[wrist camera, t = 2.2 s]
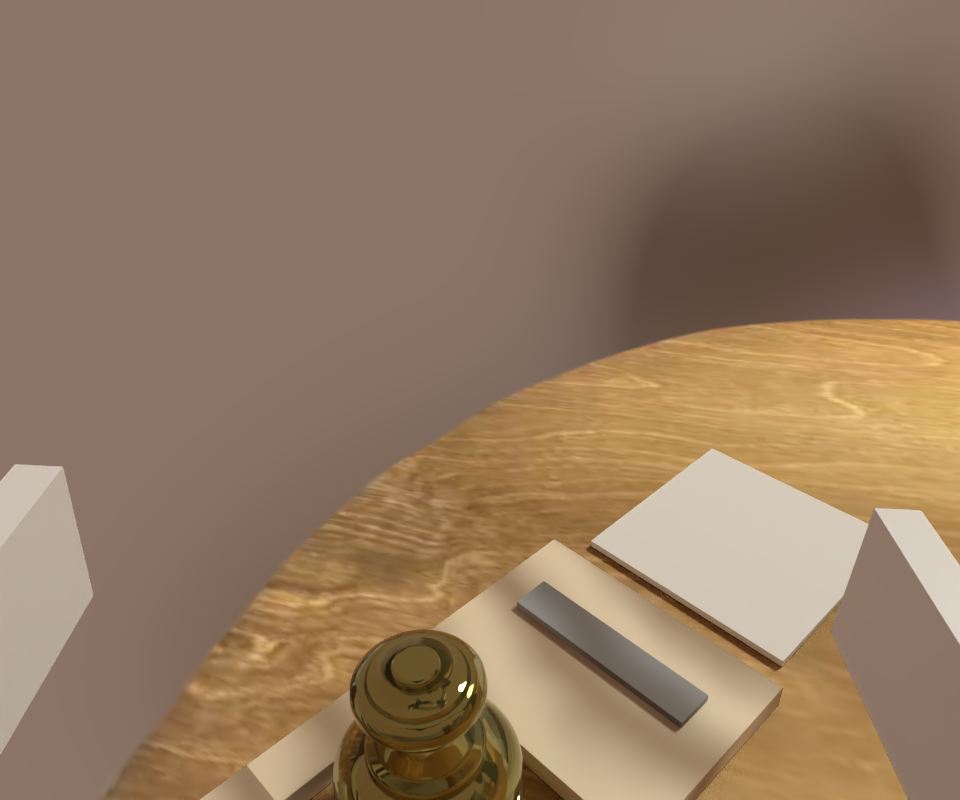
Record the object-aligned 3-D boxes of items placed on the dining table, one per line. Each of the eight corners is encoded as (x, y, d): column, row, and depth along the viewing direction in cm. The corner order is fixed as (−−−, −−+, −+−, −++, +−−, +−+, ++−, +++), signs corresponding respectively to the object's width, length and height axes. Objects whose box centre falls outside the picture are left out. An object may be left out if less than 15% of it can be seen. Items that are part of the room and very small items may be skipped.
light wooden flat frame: (554, 555, 48) (554, 533, 47) (778, 704, 39) (784, 681, 39) (199, 820, 36) (191, 798, 35) (413, 1122, 27) (409, 1103, 26)
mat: (711, 453, 55) (712, 448, 55) (894, 543, 48) (896, 537, 48) (590, 546, 49) (590, 540, 48) (781, 666, 41) (783, 661, 41)
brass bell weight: (507, 731, 39) (502, 573, 33) (540, 899, 33) (540, 740, 27) (344, 755, 38) (311, 598, 33) (346, 932, 32) (306, 776, 26)
